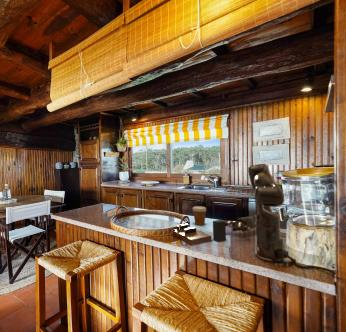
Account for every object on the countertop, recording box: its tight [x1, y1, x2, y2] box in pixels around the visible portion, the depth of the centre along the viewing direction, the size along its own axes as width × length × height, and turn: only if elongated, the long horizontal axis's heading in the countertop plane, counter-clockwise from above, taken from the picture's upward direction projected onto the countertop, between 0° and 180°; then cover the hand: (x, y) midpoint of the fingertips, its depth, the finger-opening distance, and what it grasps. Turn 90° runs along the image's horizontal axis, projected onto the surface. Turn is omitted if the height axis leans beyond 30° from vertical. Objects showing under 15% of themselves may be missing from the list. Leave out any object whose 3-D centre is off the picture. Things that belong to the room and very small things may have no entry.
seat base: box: [172, 223, 212, 246], centre depth 126 cm, size 18×14×6 cm
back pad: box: [212, 219, 227, 243], centre depth 121 cm, size 4×6×11 cm, turn 111°
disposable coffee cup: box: [192, 205, 207, 226], centre depth 152 cm, size 10×10×12 cm
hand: (226, 227), depth 123 cm, fingers open, 8 cm apart
